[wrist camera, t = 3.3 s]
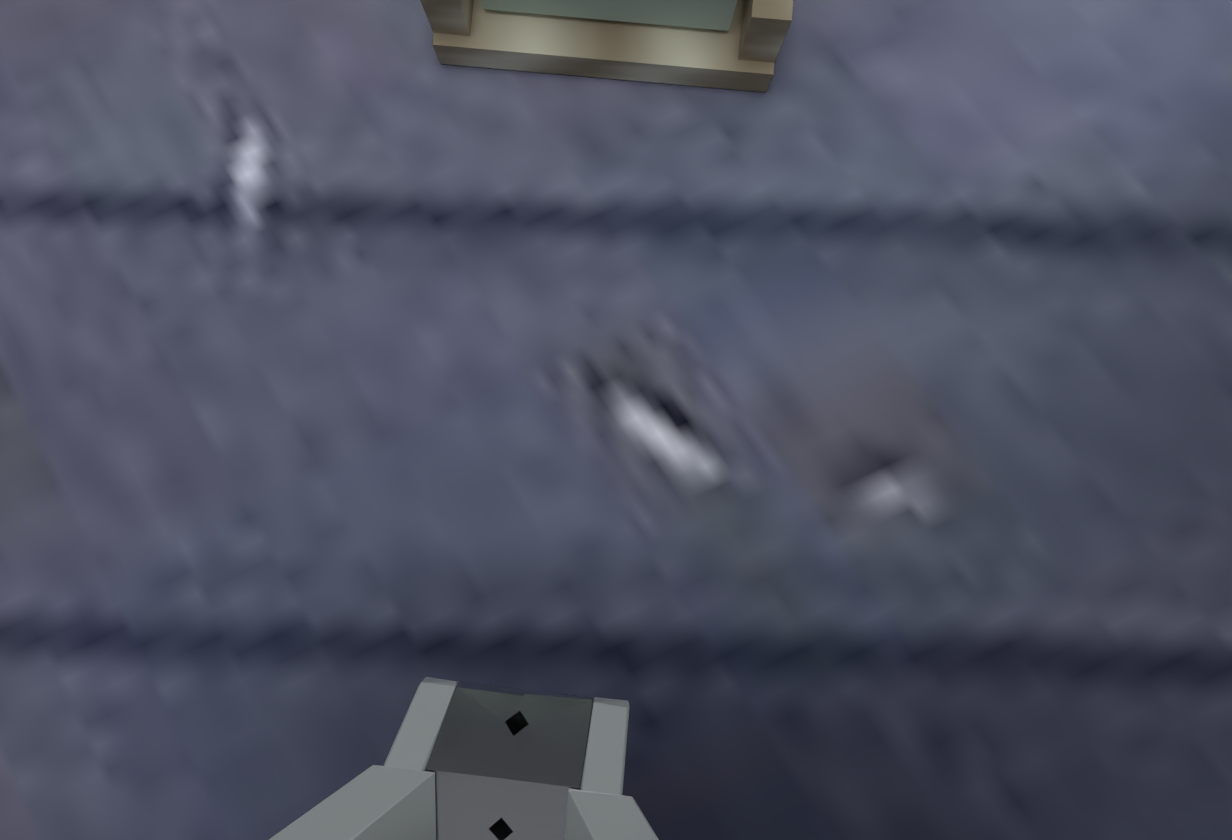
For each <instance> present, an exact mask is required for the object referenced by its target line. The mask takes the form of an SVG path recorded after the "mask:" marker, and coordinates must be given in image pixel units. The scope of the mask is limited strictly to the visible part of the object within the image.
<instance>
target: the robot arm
mask: <svg viewBox="0 0 1232 840" xmlns="http://www.w3.org/2000/svg"><path fill="white" fill-rule="evenodd" d="M593 701H594V702H593ZM628 718H629V702H628V700H618V699H608V698H598V697H595V698H594V697H586V696H577V695H568V694H559V693H549V692H540V691H531V690H520V689H513V688H506V687H499V686H492V685H485V684H478V683H471V682H464V681H460V682H458V681H451V680H444V679H438V678H431V677H425V679H424V680H423V681H422V682H421V683H420V684H419V686H418V688H417V691H416V693H415V695H414V697H413V700H412V702H411V704H410V706H409V709H408V711H407V713H406V715H405V718H404V720H403V722H402V724H401V727H400V729H399V731H398V734H397V736H396V738H395V740H394V743H393V745H392V747H391V749H390V752H389V754H388V756H387V758H386V761H385V763H384V765H383V766H379V765H372V766H371V767H369V768H368V769H366V770H365V771H364V772H362V773H361V774H359V775H358V776H357V777H355V778H354V779H352V780H351V781H350V782H348V783H347V784H345V785H344V786H343V787H341V788H340V789H338V790H337V791H336V792H334V793H333V794H332V795H330V796H329V797H327V798H326V799H325V800H323V801H322V802H320V803H319V804H318V805H316V806H315V807H313V808H312V809H311V810H309V811H308V812H306V813H305V814H304V815H302V816H301V817H299V818H298V819H297V820H295V821H294V822H292V823H291V824H290V825H288V826H287V827H286V828H284V829H283V830H281V831H280V832H279V833H277V834H276V835H274V836H273V837H272V838H270V839H269V840H659V839H658V837H657V836H656V834H655V832H654V831H653V829H652V828H651V826H650V824H649V823H648V821H647V819H646V818H645V816H644V814H643V813H642V811H641V810H640V808H639V806H638V805H637V803H636V801H635V800H634V798H633V797H631V796H624V795H622V792H623V779H624V767H625V755H626V743H627V731H628Z"/></svg>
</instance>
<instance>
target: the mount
mask: <svg viewBox="0 0 1232 840" xmlns="http://www.w3.org/2000/svg"><path fill="white" fill-rule="evenodd" d="M420 1H421V3H422V5H423V8H424V10H425V13H426V15H427V18H428V20H429V22H430V25H431V27H432V30H433V32H434V35H433V47H434V49H435V52H436V54H437V56H438V59H439V61H440V63H441V64H449V65H460V66H472V67H483V68H495V69H506V70H517V71H529V72H540V73H552V74H563V75H574V76H586V77H597V78H609V79H620V80H631V81H643V82H654V83H666V84H677V85H688V86H700V87H711V88H723V89H734V90H745V91H757V92H766V91H767V89H768V86H769V84H770V82H771V79H772V77H773V75H774V63H775V60H776V58H777V55H778V53H779V50H780V48H781V46H782V43H783V41H784V38H785V36H786V34H787V31H788V29H789V26H790V24H791V21H792V12H793V0H737V3H736V7H735V10H734V14H733V18H732V21H731V25H730V28H729V31H726V30H714V29H703V28H692V27H680V26H669V25H658V24H646V23H635V22H623V21H612V20H601V19H589V18H578V17H567V16H555V15H544V14H533V13H521V12H510V11H498V10H487V9H483V5H482V2H481V0H420Z"/></svg>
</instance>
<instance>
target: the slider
mask: <svg viewBox="0 0 1232 840" xmlns="http://www.w3.org/2000/svg"><path fill="white" fill-rule="evenodd" d="M481 2H482V5H483V9H487V10H498V11H510V12H521V13H533V14H544V15H555V16H567V17H578V18H589V19H601V20H612V21H623V22H635V23H646V24H658V25H669V26H680V27H692V28H703V29H714V30H726V31H729V28H730V25H731V21H732V18H733V14H734V10H735V7H736V3H737V0H481Z"/></svg>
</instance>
